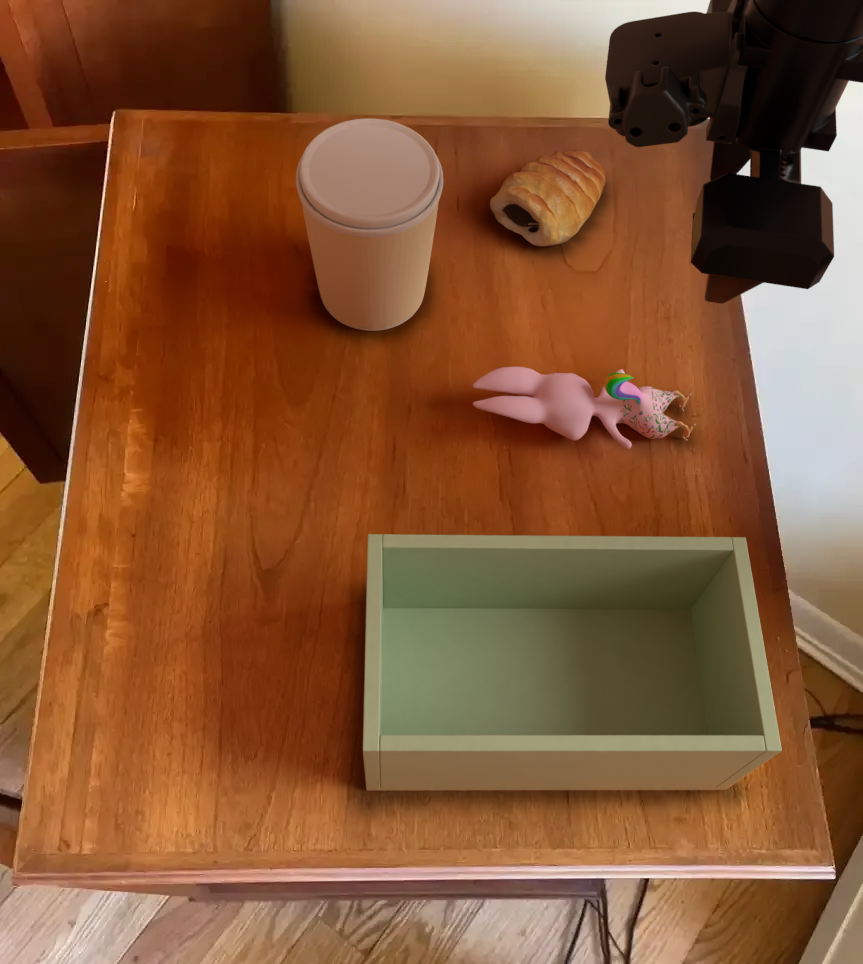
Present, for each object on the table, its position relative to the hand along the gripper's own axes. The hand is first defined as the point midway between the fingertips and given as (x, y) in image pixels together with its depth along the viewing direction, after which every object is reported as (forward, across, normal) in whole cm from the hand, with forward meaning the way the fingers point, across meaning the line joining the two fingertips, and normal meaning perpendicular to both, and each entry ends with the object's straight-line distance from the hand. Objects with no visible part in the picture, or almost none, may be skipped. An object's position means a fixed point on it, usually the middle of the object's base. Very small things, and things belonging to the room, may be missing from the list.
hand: (716, 238), depth 59 cm
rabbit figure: (+14, +5, -5) cm, 16 cm away
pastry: (+14, -14, -10) cm, 22 cm away
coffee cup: (+14, -4, -21) cm, 26 cm away
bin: (+14, +24, -6) cm, 29 cm away
